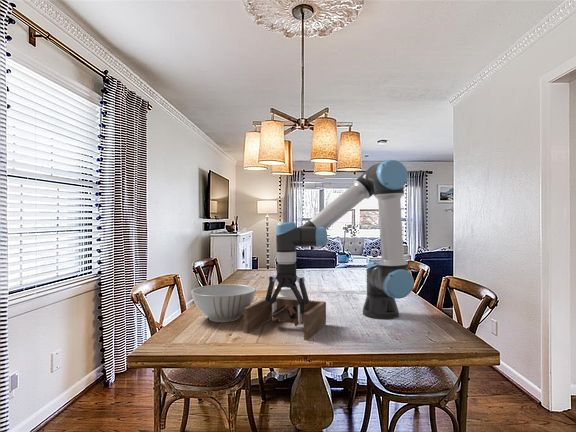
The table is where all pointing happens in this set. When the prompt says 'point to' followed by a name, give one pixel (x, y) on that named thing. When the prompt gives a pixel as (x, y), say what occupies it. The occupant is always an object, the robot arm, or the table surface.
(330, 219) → the robot arm
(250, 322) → the walnut u-shaped frame
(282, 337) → the table surface
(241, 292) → the decorative bowl
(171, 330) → the table surface
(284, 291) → the honey pot
